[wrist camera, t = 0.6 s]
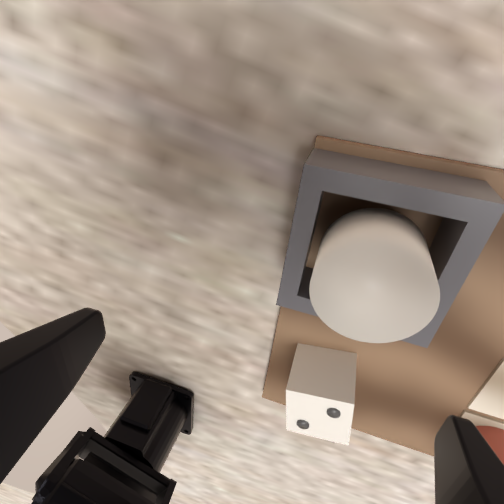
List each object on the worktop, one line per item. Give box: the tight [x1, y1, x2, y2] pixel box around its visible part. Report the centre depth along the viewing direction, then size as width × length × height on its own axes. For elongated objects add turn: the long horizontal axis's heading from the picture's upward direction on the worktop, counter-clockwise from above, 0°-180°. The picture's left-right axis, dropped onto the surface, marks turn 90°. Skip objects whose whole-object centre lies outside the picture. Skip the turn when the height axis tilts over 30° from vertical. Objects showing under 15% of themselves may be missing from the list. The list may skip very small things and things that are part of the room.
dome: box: [309, 208, 440, 343], centre depth 15 cm, size 5×5×3 cm
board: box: [262, 135, 504, 456], centre depth 21 cm, size 21×21×1 cm
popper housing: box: [276, 148, 504, 348], centre depth 17 cm, size 8×8×3 cm
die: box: [286, 343, 357, 446], centre depth 23 cm, size 4×4×4 cm
